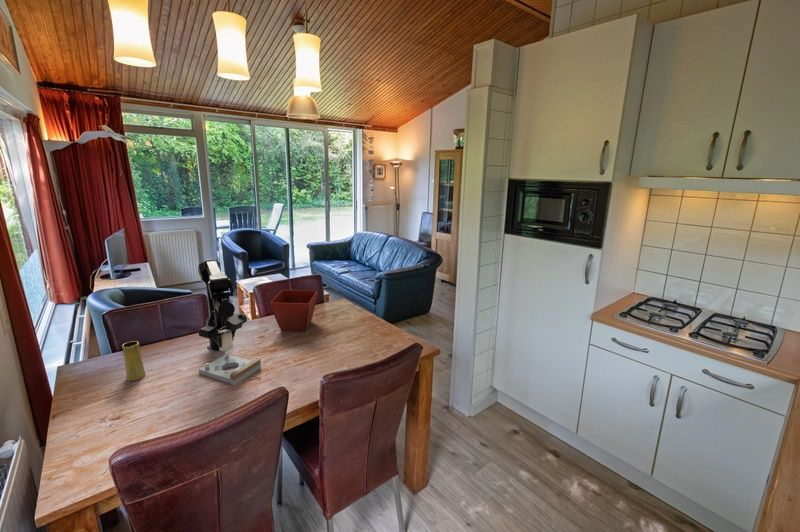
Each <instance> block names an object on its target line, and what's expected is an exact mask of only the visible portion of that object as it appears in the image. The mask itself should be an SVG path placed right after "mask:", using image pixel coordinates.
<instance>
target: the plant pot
mask: <svg viewBox="0 0 800 532" xmlns="http://www.w3.org/2000/svg"><path fill="white" fill-rule="evenodd" d="M317 296H318V291H317V290H301V289H299V290H298V289H282V290H281V291H279V293H278V294H276V296H275V297H274V298H273V299H272V300H271V301H270V306H271V309H272V313H273V316H274V319H275V321H276V323H277V325H278V328H279V329H280V331H283V332H284V331H285V332H287V331H288V332H306V330H307V329H308V328H309V326H310V324H311V322H312V320H313V316H314V312H315V309H316V308H315V307H316V303H317Z"/></svg>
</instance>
